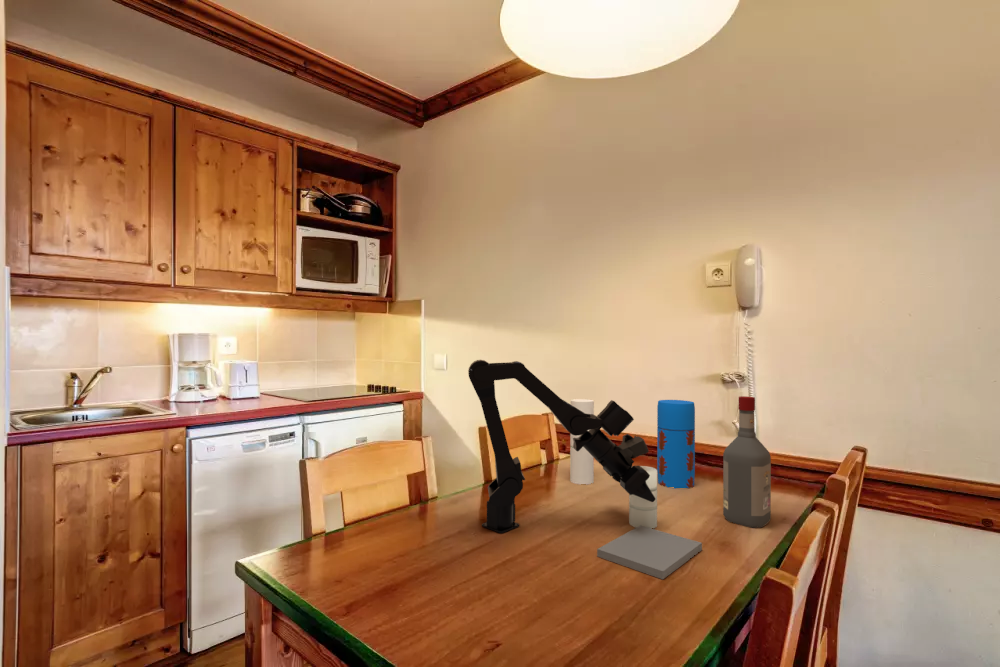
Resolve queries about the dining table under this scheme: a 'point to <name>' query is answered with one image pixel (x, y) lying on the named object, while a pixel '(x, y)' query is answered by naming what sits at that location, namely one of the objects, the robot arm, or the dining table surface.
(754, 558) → the dining table surface
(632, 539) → the shelf board
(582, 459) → the cylindrical container
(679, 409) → the thermos
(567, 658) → the dining table surface
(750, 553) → the dining table surface
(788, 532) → the dining table surface
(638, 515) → the tumbler stack
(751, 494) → the liquor
